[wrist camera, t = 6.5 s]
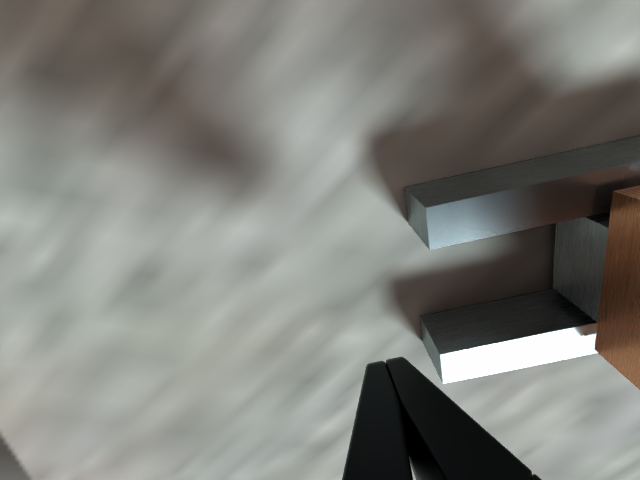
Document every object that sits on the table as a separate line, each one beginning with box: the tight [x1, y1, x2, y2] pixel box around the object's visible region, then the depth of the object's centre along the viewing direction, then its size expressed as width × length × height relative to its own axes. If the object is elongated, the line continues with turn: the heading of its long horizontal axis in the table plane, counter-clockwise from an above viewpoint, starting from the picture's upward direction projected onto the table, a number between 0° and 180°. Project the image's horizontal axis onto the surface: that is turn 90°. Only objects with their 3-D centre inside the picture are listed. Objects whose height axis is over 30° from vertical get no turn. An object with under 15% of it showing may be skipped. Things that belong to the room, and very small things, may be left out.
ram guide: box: [404, 136, 640, 384], centre depth 11 cm, size 8×6×2 cm
